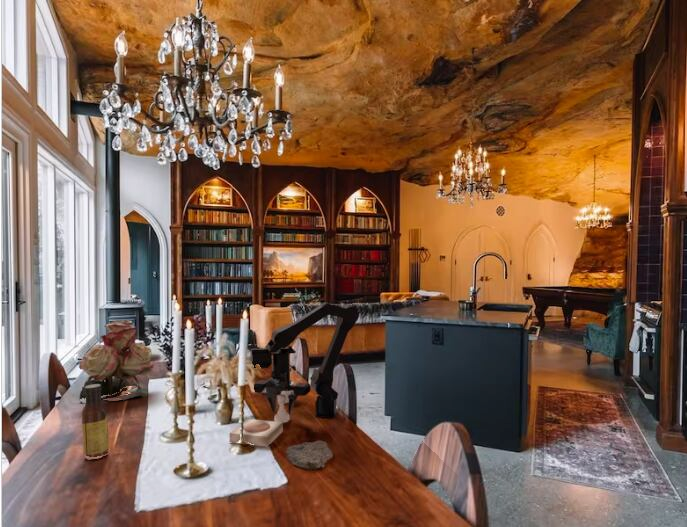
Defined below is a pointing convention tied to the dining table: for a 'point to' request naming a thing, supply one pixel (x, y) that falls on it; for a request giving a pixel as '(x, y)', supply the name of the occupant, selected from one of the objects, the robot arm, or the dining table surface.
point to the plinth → (258, 432)
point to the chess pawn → (281, 410)
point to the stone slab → (309, 454)
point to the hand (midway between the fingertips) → (281, 413)
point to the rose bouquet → (117, 361)
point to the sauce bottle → (94, 423)
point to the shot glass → (287, 393)
